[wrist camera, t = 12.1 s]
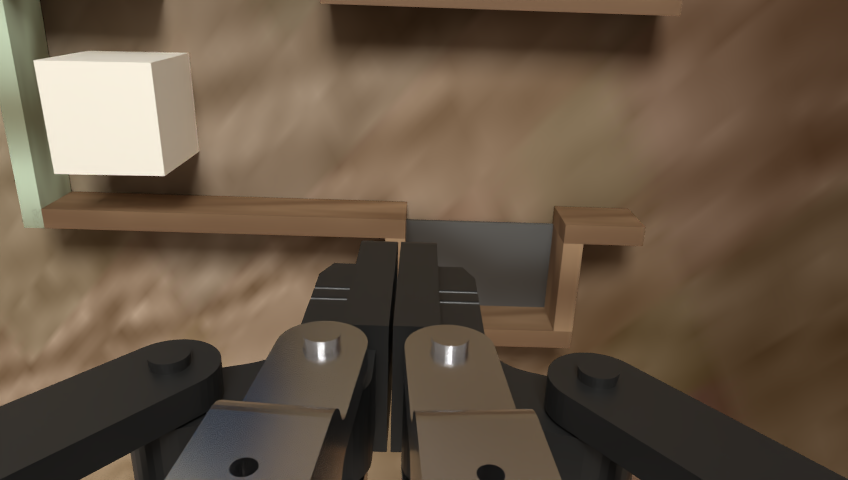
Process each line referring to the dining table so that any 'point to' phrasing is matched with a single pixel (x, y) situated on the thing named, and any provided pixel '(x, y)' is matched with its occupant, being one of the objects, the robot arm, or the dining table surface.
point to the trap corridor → (456, 240)
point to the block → (118, 112)
